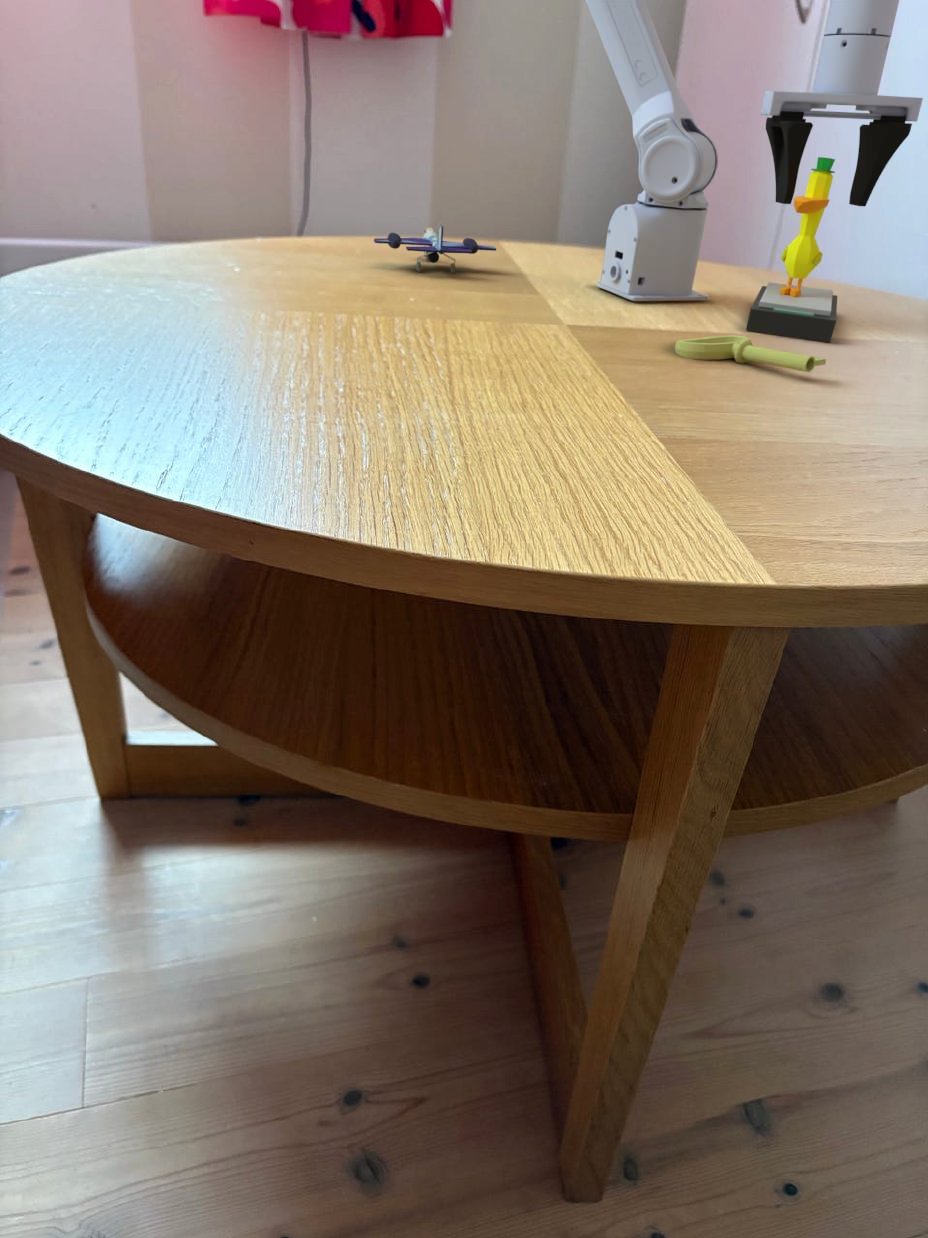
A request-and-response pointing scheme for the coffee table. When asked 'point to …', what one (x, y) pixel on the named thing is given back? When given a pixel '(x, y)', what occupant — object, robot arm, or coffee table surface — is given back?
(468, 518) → the coffee table surface
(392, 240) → the toy airplane
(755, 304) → the scale
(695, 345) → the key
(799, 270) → the toy figure
